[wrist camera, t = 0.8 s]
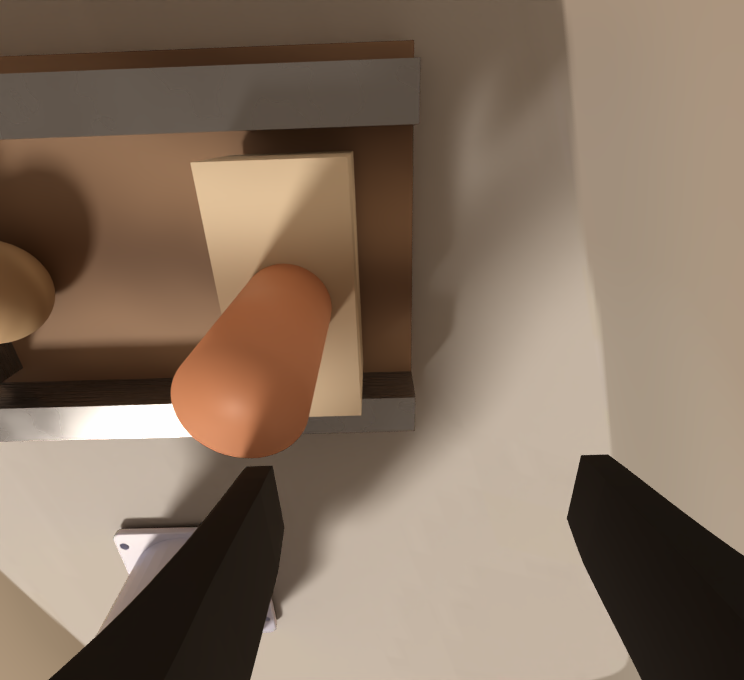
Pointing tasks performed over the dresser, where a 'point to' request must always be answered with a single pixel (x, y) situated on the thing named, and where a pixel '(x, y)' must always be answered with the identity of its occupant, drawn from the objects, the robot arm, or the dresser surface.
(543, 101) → the dresser surface
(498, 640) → the dresser surface
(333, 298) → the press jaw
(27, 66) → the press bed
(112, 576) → the dresser surface
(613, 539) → the robot arm
